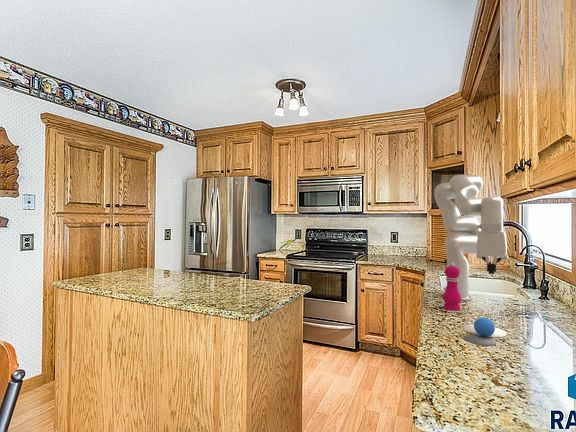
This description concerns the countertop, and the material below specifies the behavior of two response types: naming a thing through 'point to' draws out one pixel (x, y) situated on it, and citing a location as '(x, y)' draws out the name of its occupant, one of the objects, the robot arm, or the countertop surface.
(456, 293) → the pepper mill
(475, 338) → the charcoal disc
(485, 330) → the blue ball
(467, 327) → the white disc
